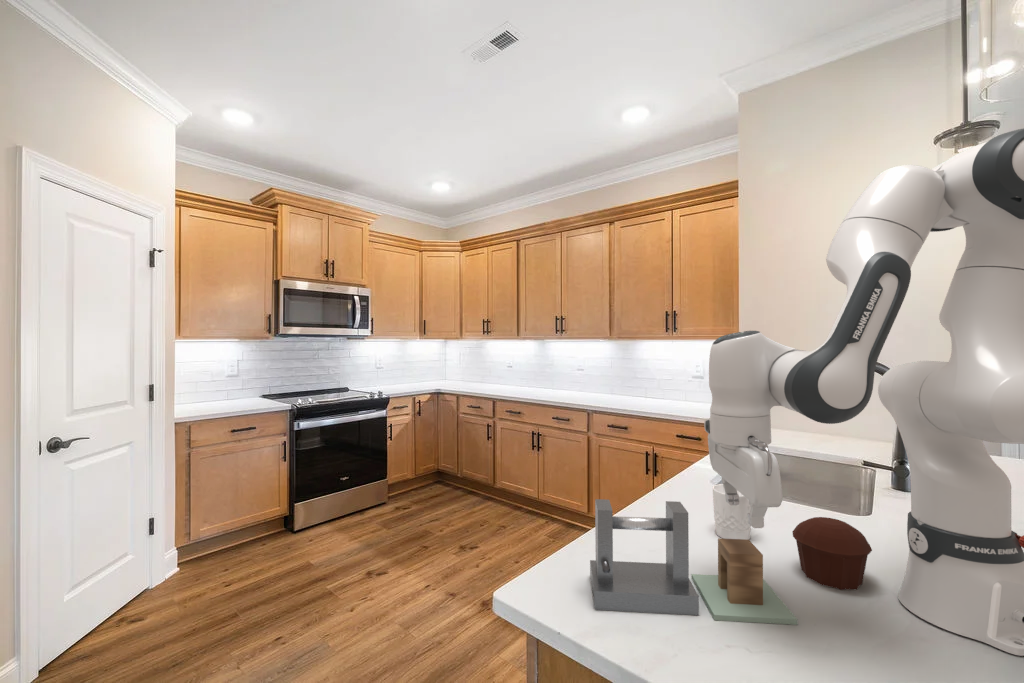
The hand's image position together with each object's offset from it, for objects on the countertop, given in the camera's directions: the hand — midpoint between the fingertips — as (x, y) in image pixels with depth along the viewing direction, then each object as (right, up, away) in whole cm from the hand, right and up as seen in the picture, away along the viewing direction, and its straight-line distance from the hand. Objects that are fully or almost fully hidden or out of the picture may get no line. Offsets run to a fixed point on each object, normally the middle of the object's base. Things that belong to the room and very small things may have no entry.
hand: (743, 514), depth 74 cm
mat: (-1, -14, 0) cm, 14 cm away
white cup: (+10, -14, +24) cm, 30 cm away
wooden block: (-1, -13, 0) cm, 13 cm away
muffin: (+19, -14, +7) cm, 25 cm away
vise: (-16, -14, +2) cm, 22 cm away
